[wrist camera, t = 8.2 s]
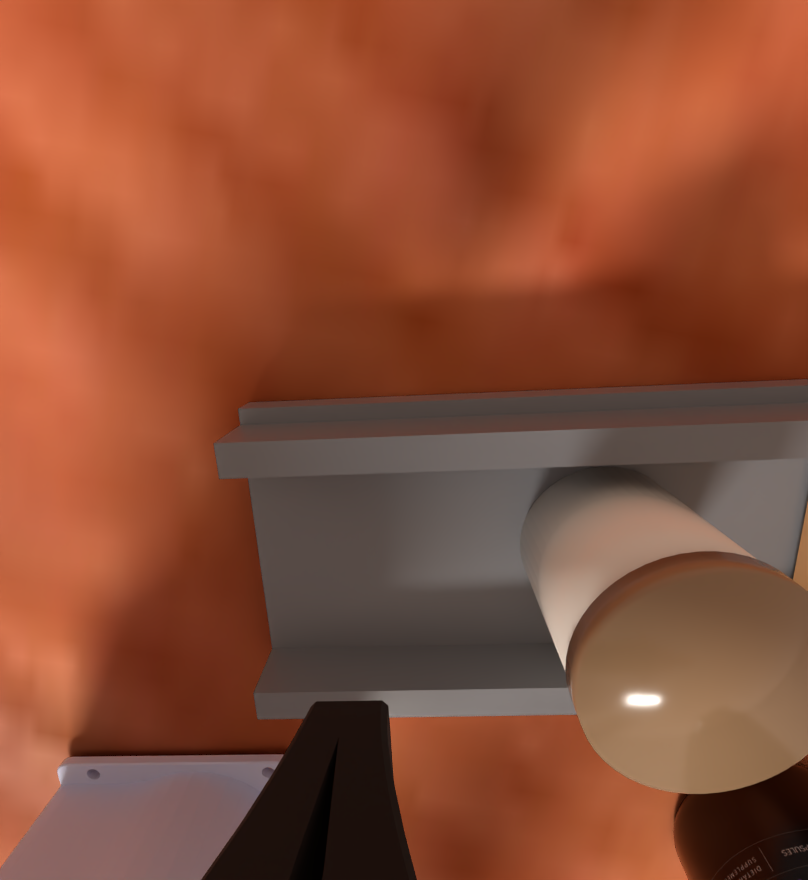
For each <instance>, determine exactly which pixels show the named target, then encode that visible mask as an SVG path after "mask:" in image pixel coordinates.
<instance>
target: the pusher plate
mask: <svg viewBox="0 0 808 880" xmlns="http://www.w3.org/2000/svg"><path fill="white" fill-rule="evenodd" d="M793 581H795V582H796V583H797V584H799V585H800V586H801V587H803V588H804V589H805V590H807V591H808V503H807V508H806V513H805V519H804V524H803V529H802V534H801V540H800V545H799V550H798V555H797V561H796V566H795V571H794V577H793Z"/></svg>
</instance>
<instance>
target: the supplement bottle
mask: <svg viewBox="0 0 808 880" xmlns="http://www.w3.org/2000/svg"><path fill="white" fill-rule="evenodd" d="M674 842H675V848H676V851H677V854H678V857H679V859H680V862H681V864H682V866H683V869H684V871H685V873H686V875H687V878H688V880H808V768H805V767H802V766H799V765H796V764H794V765H793V766H791V767H790V768H788V769H786V770H785V771H783V772H781V773H779V774H777V775H775V776H773V777H771V778H769V779H766V780H764V781H761V782H759V783H756V784H753V785H750V786H746V787H743V788H740V789H735V790H730V791H725V792H718V793H708V794H688V795H687V796H686V797H685V799H684V800H683V802H682V804H681V806H680V807H679V810H678V812H677V815H676V819H675V823H674Z"/></svg>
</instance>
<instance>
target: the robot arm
mask: <svg viewBox="0 0 808 880" xmlns="http://www.w3.org/2000/svg"><path fill="white" fill-rule="evenodd" d="M268 767H269V768H268ZM57 773H58V777H59V780H60V783H61V787H60V788H59V789H58V791H57V792H56V793H55V795H54V796H53V798H52V799H51V800H50V802H49V803H48V804H47V806H46V807H45V808H44V810H43V811H42V812H41V814H40V815H39V816H38V818H37V819H36V820H35V822H34V823H33V825H32V826H31V827H30V829H29V830H28V831H27V833H26V834H25V835H24V837H23V838H22V839H21V841H20V842H19V843H18V845H17V846H16V848H15V849H14V850H13V852H12V853H11V854H10V856H9V857H8V858H7V860H6V861H5V862H4V864H3V865H2V866H1V868H0V880H417V878H416V875H415V871H414V867H413V864H412V860H411V856H410V853H409V849H408V845H407V841H406V837H405V832H404V828H403V824H402V819H401V814H400V810H399V805H398V800H397V796H396V791H395V786H394V780H393V765H392V751H391V736H390V722H389V707H388V705H387V704H386V703H385V702H383V701H382V700H372V701H316V702H315V703H314V704H313V705H312V706H311V707H310V709H309V711H308V713H307V715H306V717H305V718H304V720H303V722H302V724H301V726H300V728H299V729H298V731H297V733H296V735H295V736H294V738H293V740H292V742H291V743H290V745H289V747H288V749H287V750H286V752H285V754H259V755H173V756H88V757H68V758H66V759H65V760H64V761H63V762H62V763H61V765H60V766H59V768H58V770H57Z"/></svg>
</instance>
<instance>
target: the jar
mask: <svg viewBox="0 0 808 880" xmlns="http://www.w3.org/2000/svg"><path fill="white" fill-rule="evenodd" d="M520 553H521V559H522V562H523V566H524V568H525V571H526V573H527V576H528V578H529V581H530V584H531V586H532V589H533V591H534V594H535V596H536V599H537V601H538V604H539V606H540V609H541V611H542V614H543V616H544V619H545V621H546V624H547V627H548V629H549V632H550V634H551V637H552V639H553V642H554V644H555V647H556V649H557V652H558V654H559V657H560V659H561V662H562V665H563V667H564V670H565V673H566V683H567V687H568V691H569V694H570V698H571V700H572V703H573V705H574V708H575V711H576V713H577V716H578V718H579V721H580V724H581V726H582V729H583V731H584V733H585V735H586V738H587V740H588V741H589V743H590V744H591V746H592V747H593V749H594V750H595V751H596V753H597V754H598V755H599V756H600V757H601V758H602V759H603V760H604V761H605V762H606V763H607V764H608V765H610V766H611V767H612V768H613V769H614V770H616V771H617V772H619V773H621V774H622V775H624V776H625V777H627V778H629V779H631V780H633V781H635V782H638V783H640V784H642V785H645V786H648V787H651V788H655V789H659V790H663V791H668V792H675V793H685V794H708V793H718V792H725V791H730V790H735V789H740V788H743V787H746V786H750V785H753V784H756V783H759V782H761V781H764V780H766V779H769V778H771V777H773V776H775V775H777V774H779V773H781V772H783V771H785V770H786V769H788V768H790V767H791V766H793V765H794V764H796V763H797V762H799V761H800V760H802V759H803V758H804V757H805V756H807V755H808V591H807V590H805V589H804V588H803V587H801V586H800V585H799V584H797V583H796V582H795V581H793V580H792V579H791V578H789V577H788V576H787V575H785V574H784V573H783V572H781V571H780V570H778V569H777V568H775V567H773V566H771V565H769V564H767V563H765V562H763V561H760V560H757V559H756V558H755V557H753V556H752V555H751V554H749V553H748V552H747V551H745V550H744V549H743V548H741V547H740V546H739V545H737V544H736V543H735V542H733V541H732V540H731V539H730V538H728V537H727V536H726V535H724V534H723V533H722V532H720V531H719V530H718V529H716V528H715V527H714V526H712V525H711V524H710V523H709V522H707V521H706V520H705V519H703V518H702V517H701V516H699V515H698V514H697V513H695V512H694V511H693V510H691V509H690V508H689V507H688V506H686V505H685V504H684V503H682V502H681V501H680V500H678V499H677V498H676V497H674V496H673V495H672V494H670V493H669V492H668V491H666V490H665V489H664V488H663V487H661V486H660V485H659V484H657V483H656V482H655V481H653V480H652V479H650V478H649V477H647V476H645V475H643V474H641V473H638V472H636V471H633V470H629V469H625V468H620V467H595V468H589V469H585V470H581V471H578V472H575V473H573V474H570V475H568V476H566V477H564V478H562V479H560V480H559V481H557V482H556V483H554V484H553V485H552V486H550V487H549V488H548V489H547V490H546V491H544V492H543V493H542V494H541V495H540V497H539V498H538V499H537V500H536V501H535V502H534V504H533V505H532V507H531V509H530V510H529V512H528V514H527V516H526V518H525V520H524V524H523V527H522V530H521V536H520Z"/></svg>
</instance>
